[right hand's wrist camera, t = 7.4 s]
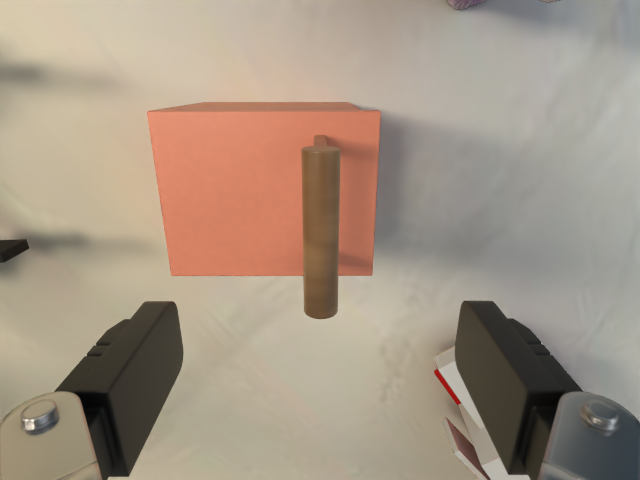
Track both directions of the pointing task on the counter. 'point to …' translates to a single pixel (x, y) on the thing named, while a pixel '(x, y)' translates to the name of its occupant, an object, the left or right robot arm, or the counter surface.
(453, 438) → the toy
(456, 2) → the figurine
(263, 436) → the counter surface
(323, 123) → the lid
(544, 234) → the counter surface
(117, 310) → the counter surface
